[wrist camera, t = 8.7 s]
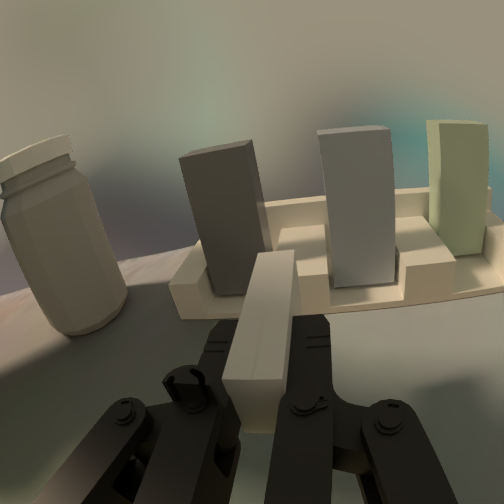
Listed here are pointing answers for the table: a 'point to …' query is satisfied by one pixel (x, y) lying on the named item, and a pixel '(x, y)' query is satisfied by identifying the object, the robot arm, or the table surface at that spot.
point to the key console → (362, 296)
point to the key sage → (458, 183)
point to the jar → (60, 237)
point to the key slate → (359, 203)
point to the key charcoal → (227, 212)
